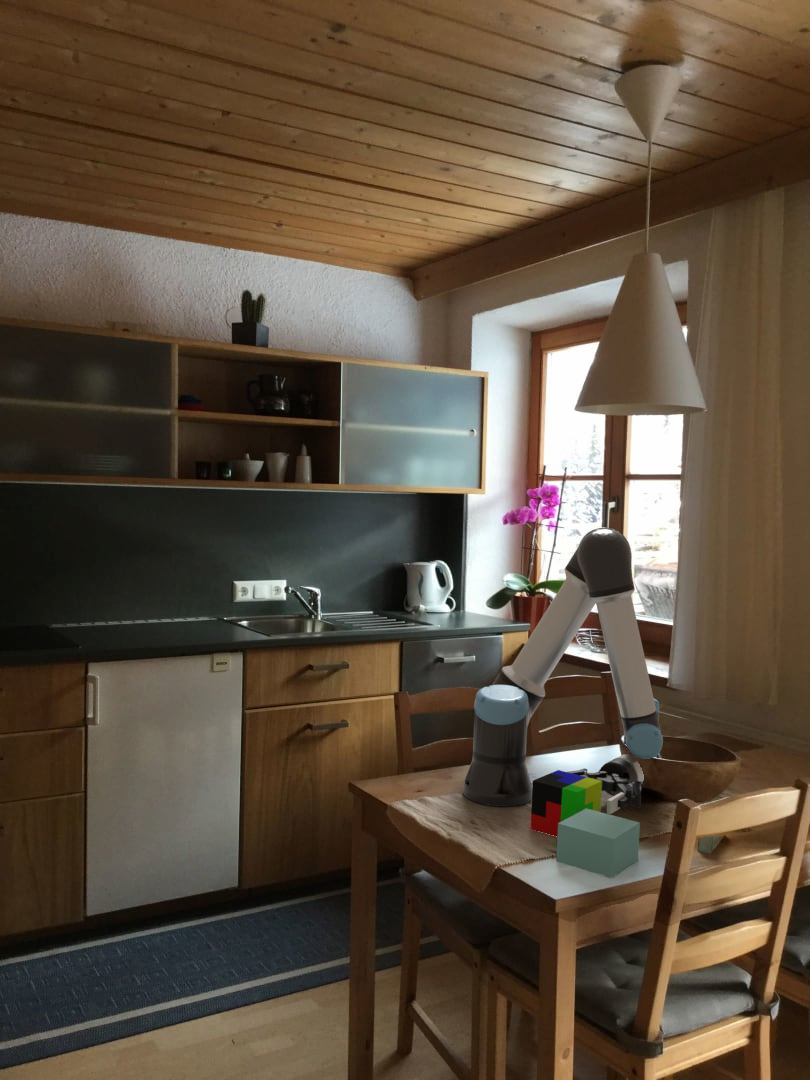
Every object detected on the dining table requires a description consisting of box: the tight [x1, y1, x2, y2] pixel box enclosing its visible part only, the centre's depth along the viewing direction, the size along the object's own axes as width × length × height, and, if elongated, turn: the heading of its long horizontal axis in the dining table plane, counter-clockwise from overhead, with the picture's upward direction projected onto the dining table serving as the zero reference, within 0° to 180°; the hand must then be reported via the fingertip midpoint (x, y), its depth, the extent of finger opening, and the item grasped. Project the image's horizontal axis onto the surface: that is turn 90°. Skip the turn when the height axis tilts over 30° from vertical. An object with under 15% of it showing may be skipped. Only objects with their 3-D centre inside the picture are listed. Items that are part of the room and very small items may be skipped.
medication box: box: [697, 834, 726, 854], centre depth 183 cm, size 12×3×4 cm, turn 149°
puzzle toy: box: [530, 769, 603, 838], centre depth 187 cm, size 10×10×10 cm
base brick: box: [556, 809, 641, 879], centre depth 172 cm, size 11×11×7 cm
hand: (577, 799), depth 188 cm, fingers open, 13 cm apart
